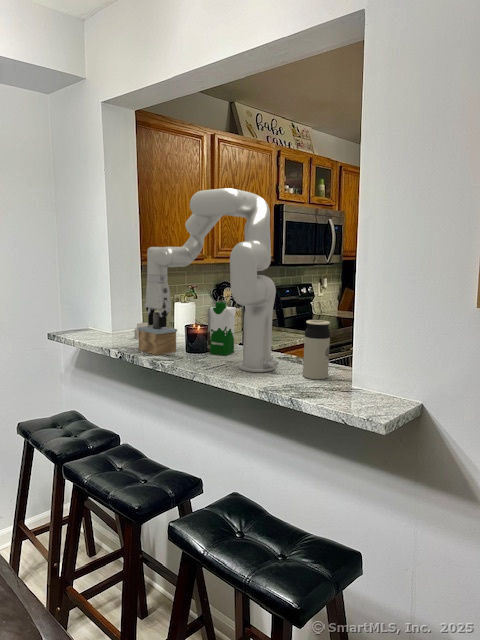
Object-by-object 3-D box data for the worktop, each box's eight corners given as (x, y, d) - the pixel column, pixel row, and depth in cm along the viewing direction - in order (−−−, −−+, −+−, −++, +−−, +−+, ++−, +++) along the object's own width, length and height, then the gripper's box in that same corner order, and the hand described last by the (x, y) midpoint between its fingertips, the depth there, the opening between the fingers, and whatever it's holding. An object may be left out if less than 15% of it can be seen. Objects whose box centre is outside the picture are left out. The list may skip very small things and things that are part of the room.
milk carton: (206, 353, 182) (207, 302, 179) (217, 349, 190) (218, 300, 187) (227, 356, 178) (228, 303, 175) (237, 352, 186) (238, 301, 183)
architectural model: (132, 339, 211) (132, 322, 210) (146, 337, 216) (145, 321, 215) (136, 340, 208) (136, 323, 207) (150, 338, 213) (150, 322, 212)
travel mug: (298, 376, 152) (300, 321, 149) (311, 372, 158) (313, 319, 155) (319, 381, 146) (322, 324, 144) (332, 376, 152) (335, 321, 150)
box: (175, 351, 184) (176, 331, 183) (157, 355, 177) (157, 334, 176) (157, 347, 192) (157, 327, 191) (138, 350, 186) (138, 329, 184)
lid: (177, 333, 183) (177, 313, 182) (156, 336, 176) (157, 315, 175) (157, 329, 191) (157, 310, 190) (137, 331, 184) (137, 312, 183)
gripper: (179, 280, 178) (178, 327, 180) (151, 278, 189) (151, 322, 192) (163, 281, 172) (163, 329, 175) (136, 278, 184) (136, 324, 186)
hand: (157, 325), depth 183 cm, fingers open, 6 cm apart
